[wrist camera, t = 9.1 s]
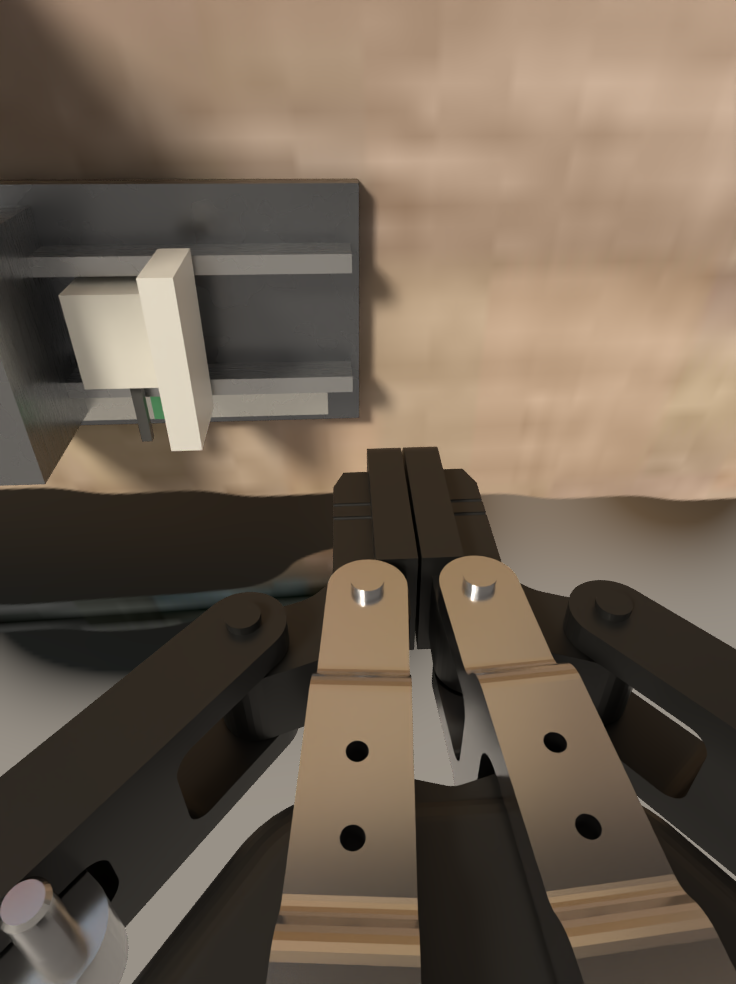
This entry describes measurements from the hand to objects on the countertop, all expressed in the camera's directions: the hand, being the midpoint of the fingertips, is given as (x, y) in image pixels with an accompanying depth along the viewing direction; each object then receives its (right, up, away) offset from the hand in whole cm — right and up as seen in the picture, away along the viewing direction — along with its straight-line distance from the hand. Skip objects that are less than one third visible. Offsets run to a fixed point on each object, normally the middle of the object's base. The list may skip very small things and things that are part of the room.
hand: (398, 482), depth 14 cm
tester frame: (-12, +11, +24) cm, 29 cm away
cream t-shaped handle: (-13, +9, +23) cm, 28 cm away
